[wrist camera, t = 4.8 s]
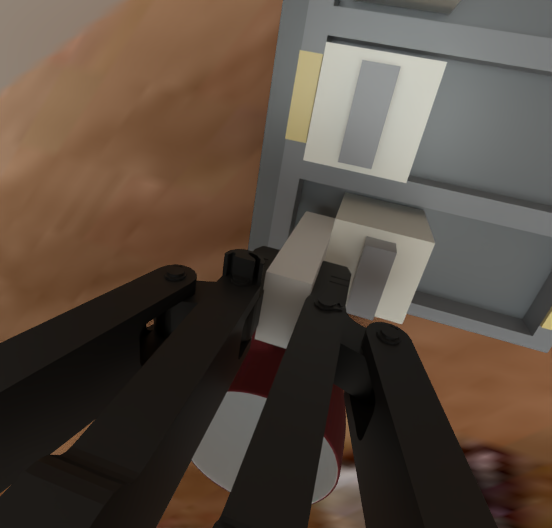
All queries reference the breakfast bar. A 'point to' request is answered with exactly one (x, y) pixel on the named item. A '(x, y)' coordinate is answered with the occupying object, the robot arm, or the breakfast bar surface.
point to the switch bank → (436, 153)
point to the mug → (244, 417)
